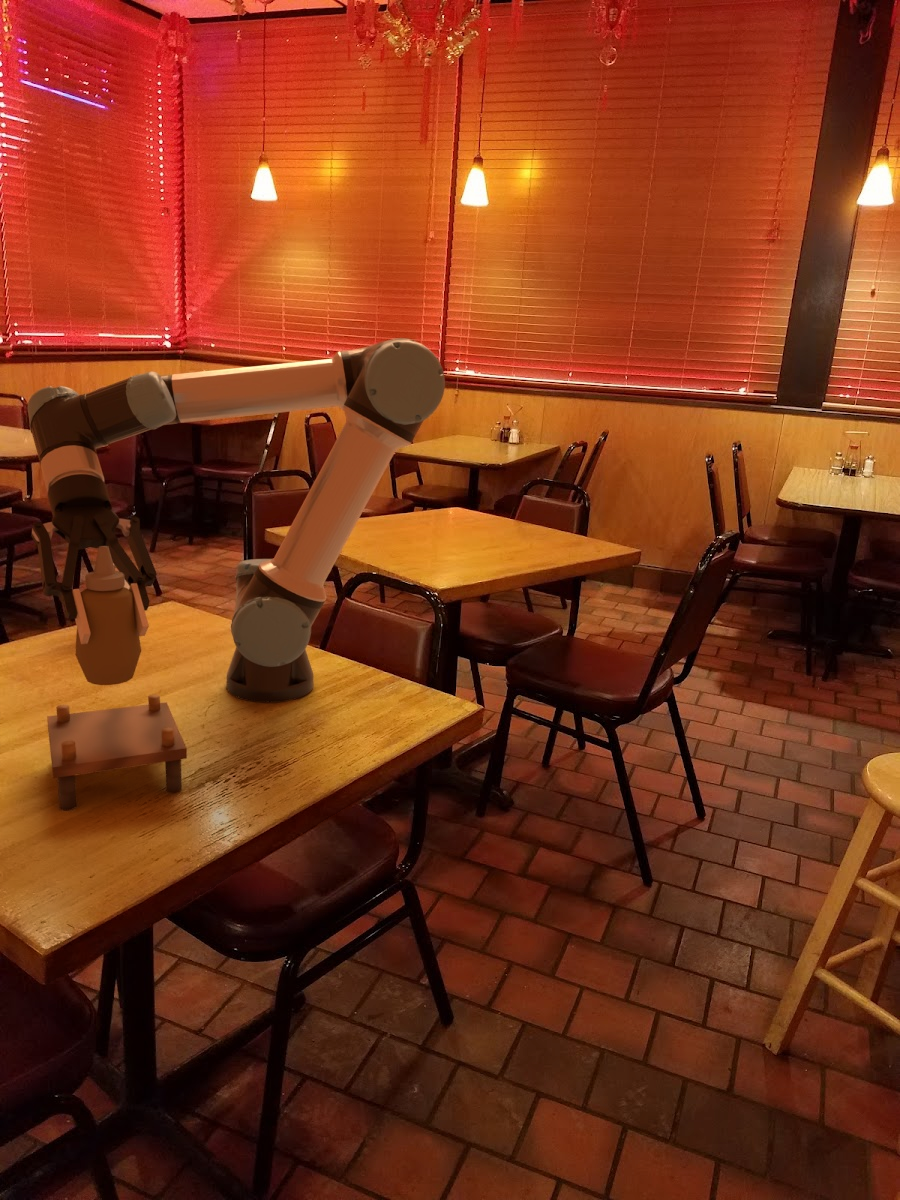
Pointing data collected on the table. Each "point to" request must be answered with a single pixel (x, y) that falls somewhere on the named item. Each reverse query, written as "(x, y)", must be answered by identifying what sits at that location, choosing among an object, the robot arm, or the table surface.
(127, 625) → the squeeze bottle
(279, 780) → the table surface
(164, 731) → the walnut stand
